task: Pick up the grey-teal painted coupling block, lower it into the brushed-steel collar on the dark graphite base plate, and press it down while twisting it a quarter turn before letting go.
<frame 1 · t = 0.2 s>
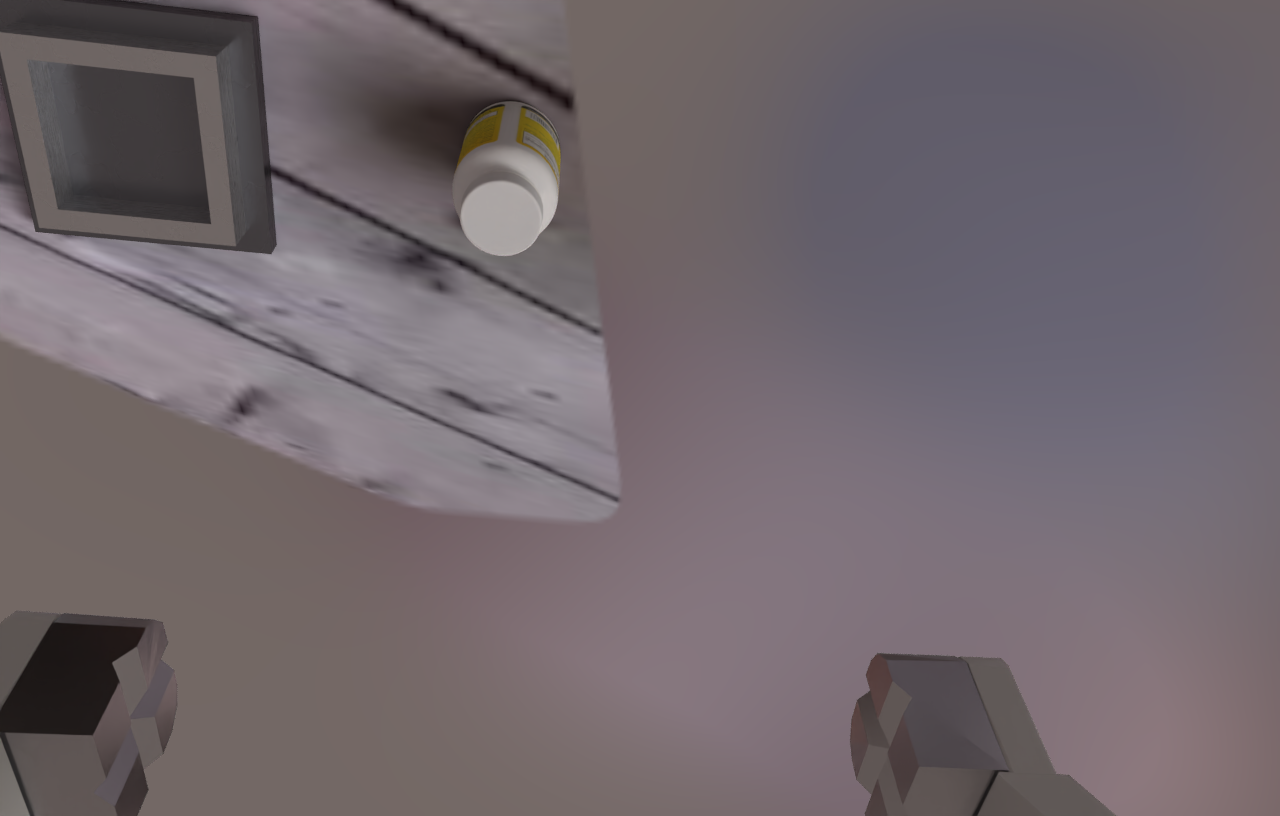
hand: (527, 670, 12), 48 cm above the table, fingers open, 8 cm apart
supplement bottle: (513, 145, 57), on the table
collar socket: (145, 125, 56), on the table
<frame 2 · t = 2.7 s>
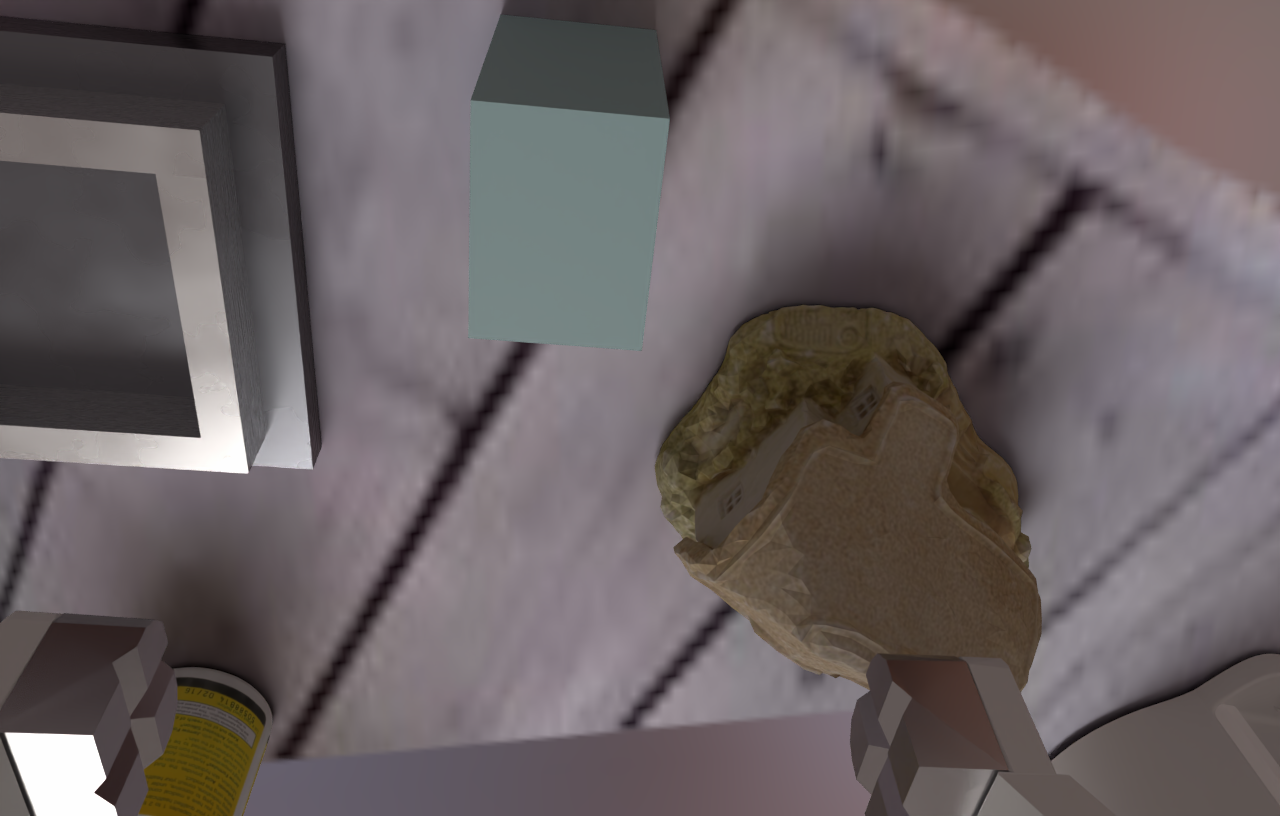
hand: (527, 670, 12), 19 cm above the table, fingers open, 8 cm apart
ceramic model: (843, 472, 35), on the table
supplement bottle: (207, 703, 41), on the table
coupling block: (571, 126, 28), on the table
collar socket: (75, 251, 29), on the table
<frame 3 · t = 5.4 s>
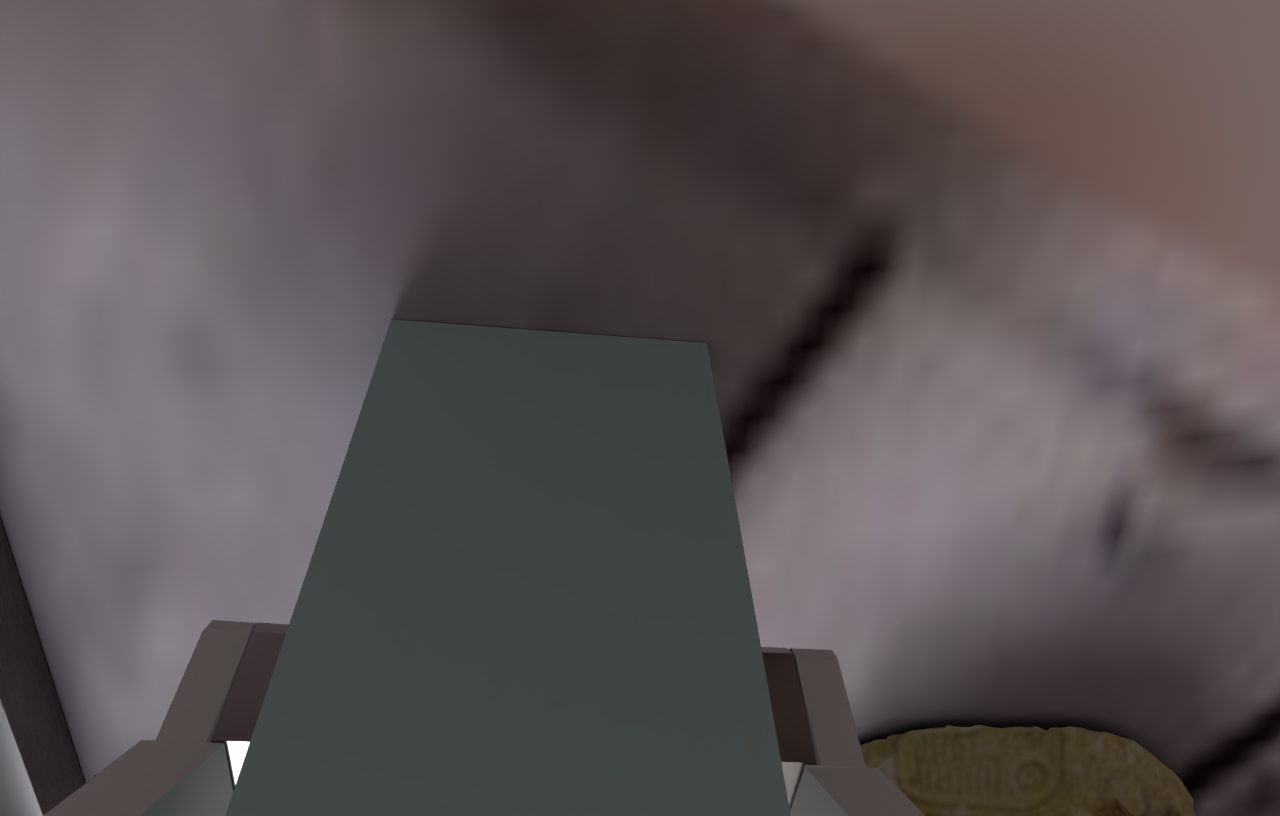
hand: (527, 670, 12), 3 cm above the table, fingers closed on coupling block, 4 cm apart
coupling block: (540, 498, 14), on the table, touching gripper
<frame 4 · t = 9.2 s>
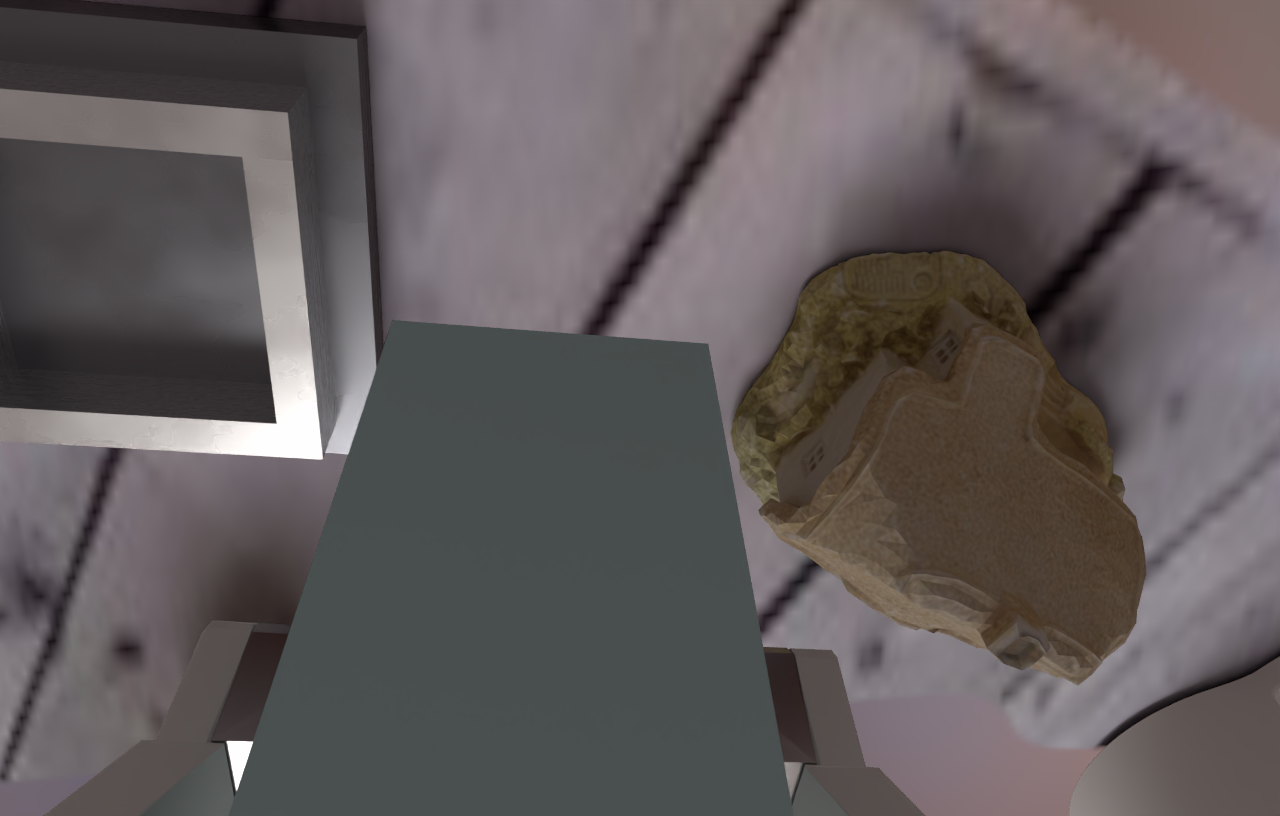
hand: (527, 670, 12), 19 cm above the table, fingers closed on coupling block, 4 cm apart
ceramic model: (923, 425, 34), on the table
coupling block: (541, 499, 14), point 16 cm above the table, touching gripper
collar socket: (149, 238, 29), on the table
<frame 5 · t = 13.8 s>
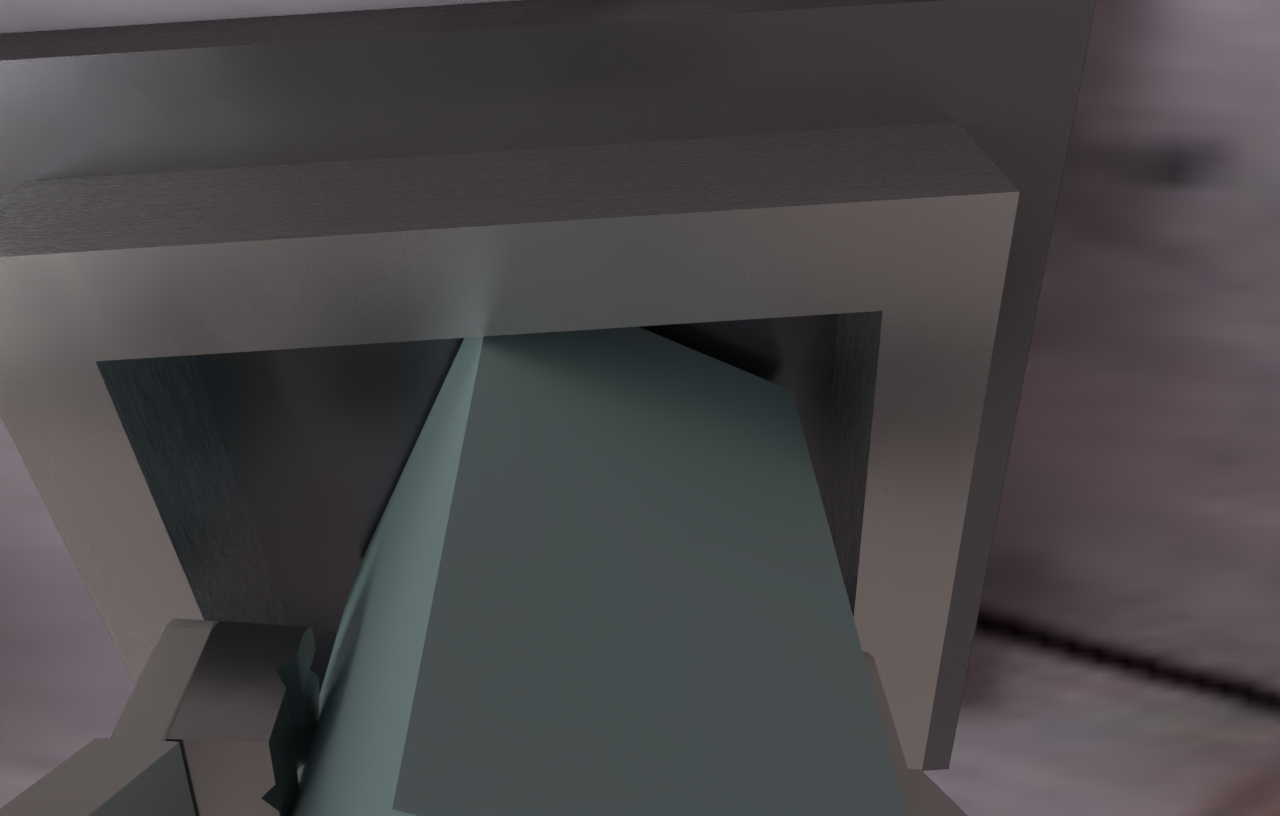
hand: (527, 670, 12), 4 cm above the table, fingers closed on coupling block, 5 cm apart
coupling block: (559, 491, 14), point 1 cm above the table, touching gripper
collar socket: (543, 458, 15), on the table
when the fingers open (4 cm above the table, at t = 14.5 s): coupling block stays where it is, resting on collar socket.
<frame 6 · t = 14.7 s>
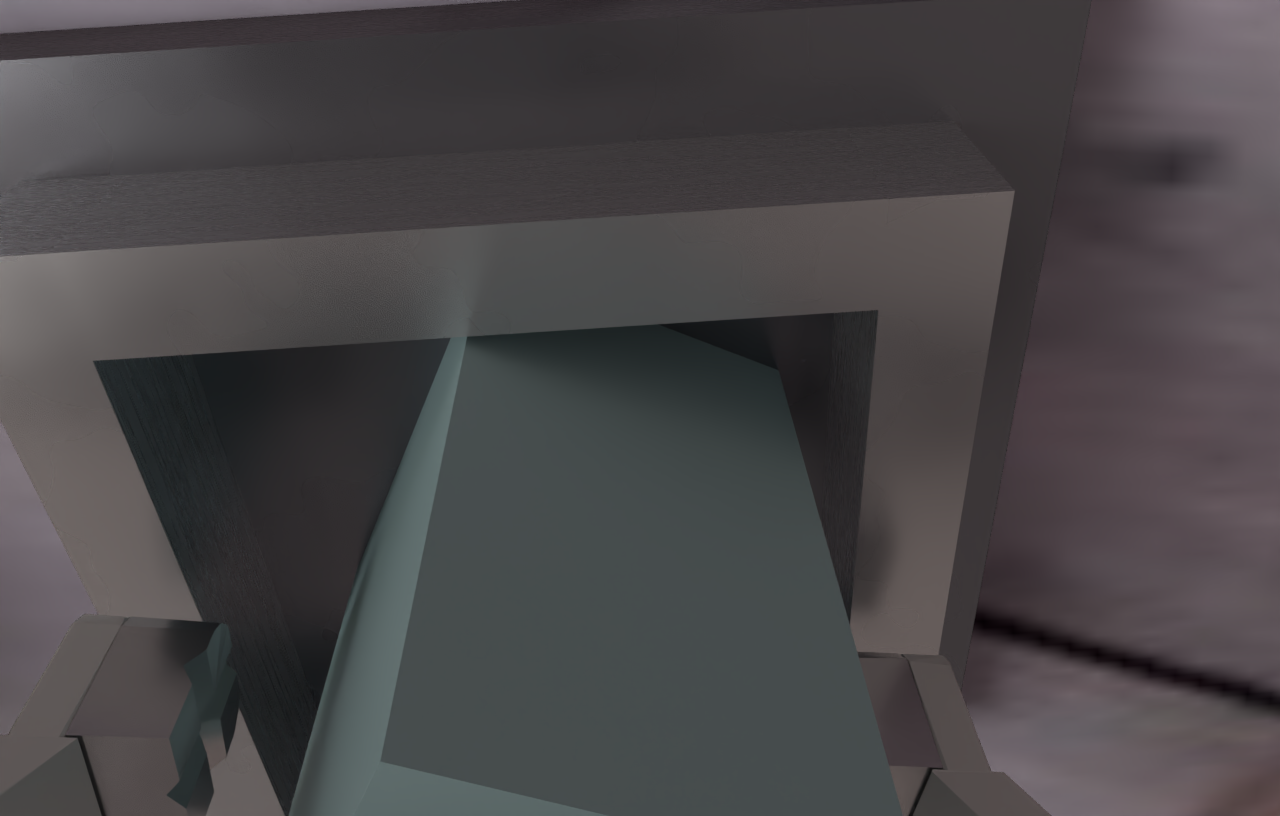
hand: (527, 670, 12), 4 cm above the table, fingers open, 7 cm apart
coupling block: (554, 477, 14), point 1 cm above the table, touching collar socket
collar socket: (541, 457, 15), on the table
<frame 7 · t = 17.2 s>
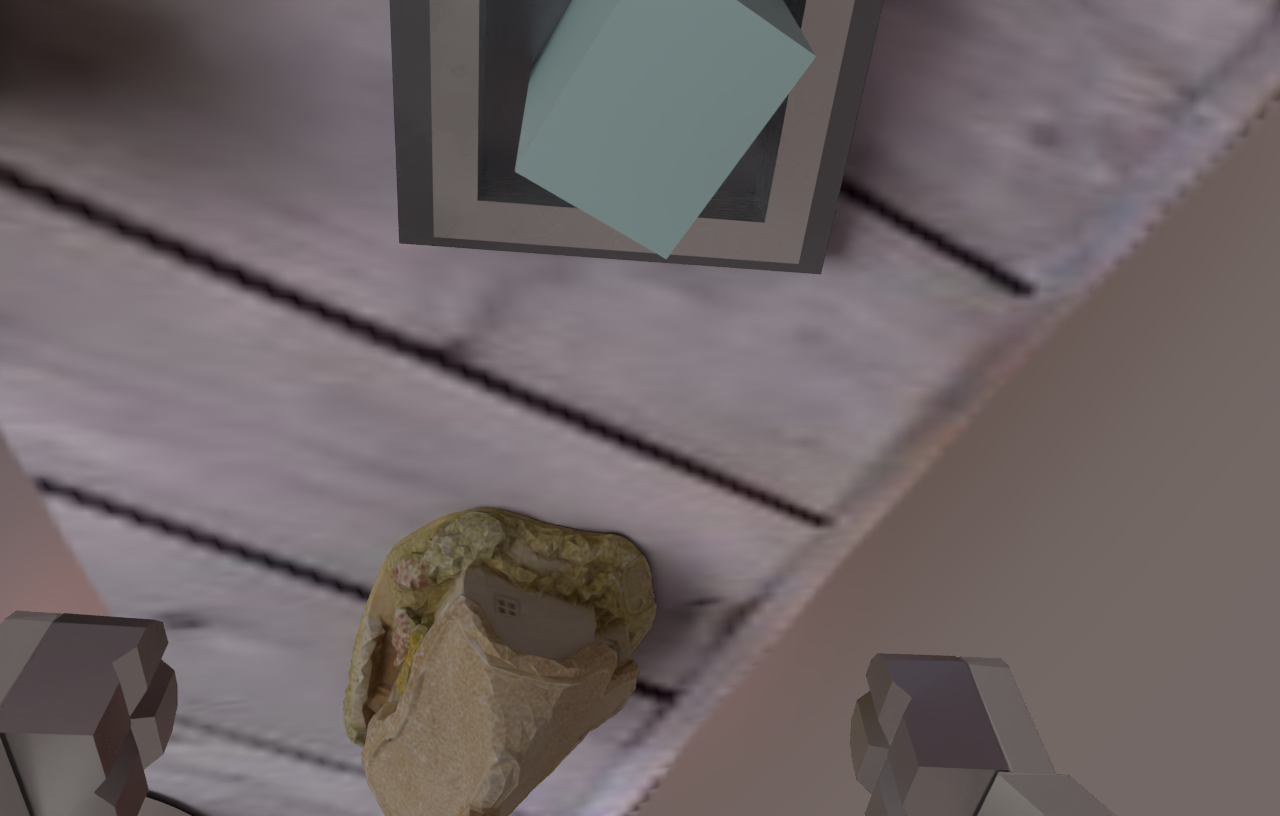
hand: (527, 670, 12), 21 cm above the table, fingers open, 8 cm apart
ceramic model: (496, 619, 43), on the table
coupling block: (647, 24, 27), point 1 cm above the table, touching collar socket
collar socket: (633, 31, 28), on the table
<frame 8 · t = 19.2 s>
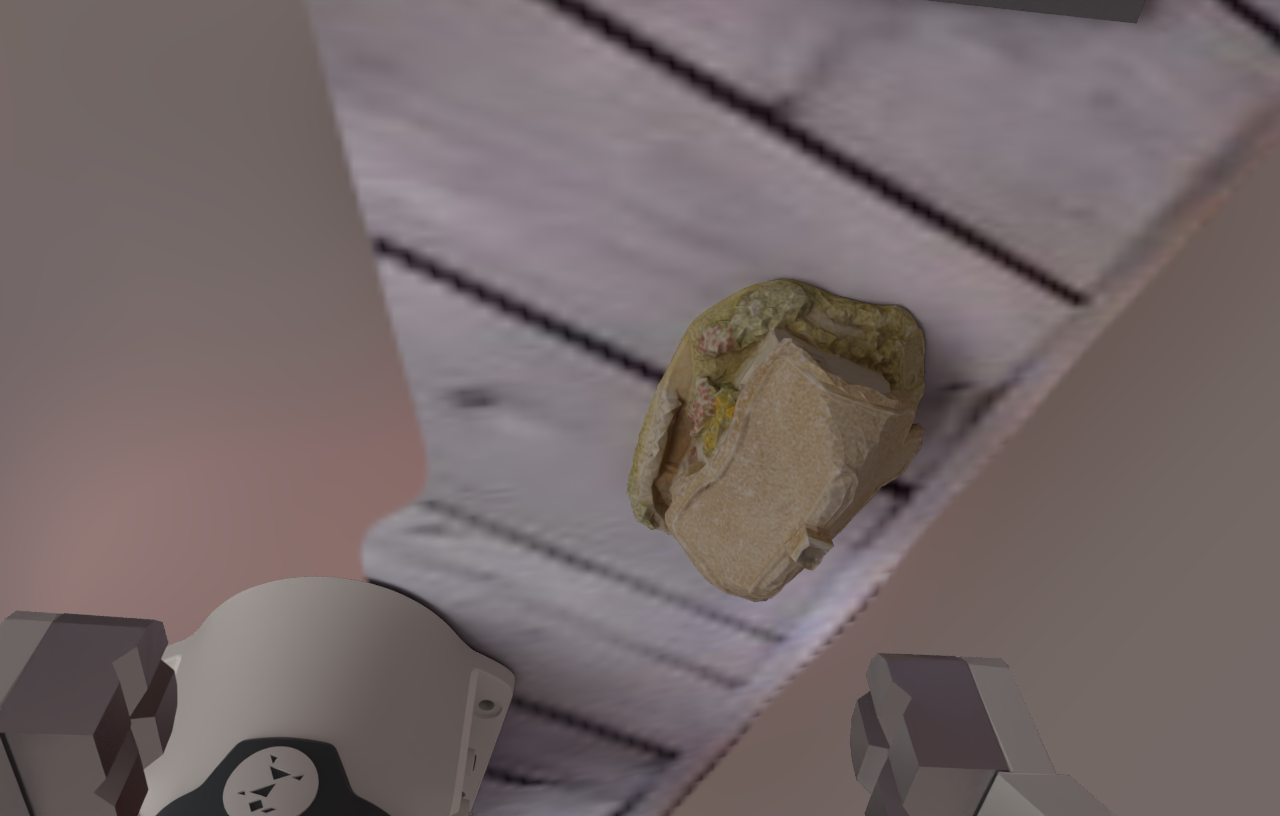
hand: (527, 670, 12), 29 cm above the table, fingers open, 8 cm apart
ceramic model: (770, 405, 46), on the table
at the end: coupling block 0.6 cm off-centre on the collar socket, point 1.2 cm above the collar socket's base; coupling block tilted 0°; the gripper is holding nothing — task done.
